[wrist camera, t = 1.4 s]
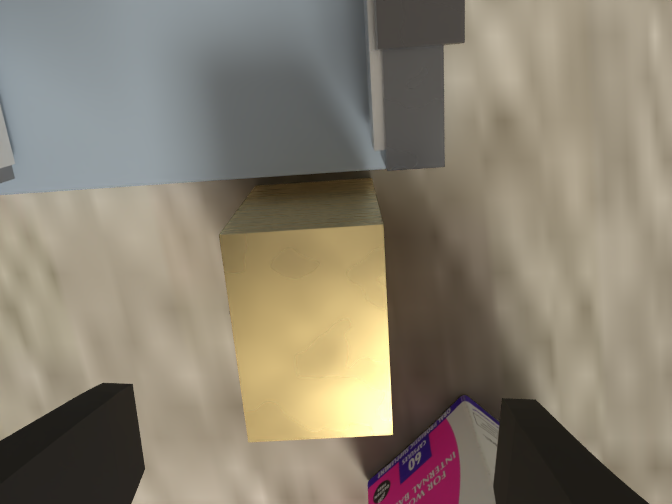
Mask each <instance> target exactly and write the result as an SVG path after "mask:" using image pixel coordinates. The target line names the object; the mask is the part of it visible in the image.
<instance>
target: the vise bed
mask: <svg viewBox="0 0 672 504" xmlns="http://www.w3.org/2000/svg"><path fill="white" fill-rule="evenodd" d="M377 169H386V167H385V164H384V162H383V160H382V157H381V155H380V150H379V151H374V149H373V146H372V143H371V141H370V122H369V102H368V82H367V63H366V43H365V23H364V3H363V0H0V195H8V194H23V193H37V192H52V191H67V190H82V189H96V188H111V187H126V186H141V185H155V184H170V183H185V182H200V181H214V180H229V179H244V178H259V177H273V176H288V175H303V174H318V173H333V172H347V171H362V170H377Z"/></svg>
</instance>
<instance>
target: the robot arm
mask: <svg viewBox="0 0 672 504" xmlns="http://www.w3.org/2000/svg"><path fill="white" fill-rule="evenodd" d="M144 470H145V465H144V459H143V452H142V445H141V438H140V431H139V425H138V418H137V411H136V404H135V397H134V391H133V384H117V383H102V384H100V385H98V386H96V387H94V388H92V389H90V390H88V391H86V392H84V393H82V394H81V395H79V396H77V397H75V398H73V399H72V400H70V401H68V402H66V403H65V404H63V405H61V406H60V407H58V408H56V409H54V410H53V411H51V412H49V413H48V414H46V415H44V416H43V417H41V418H39V419H37V420H36V421H34V422H32V423H30V424H29V425H27V426H25V427H24V428H22V429H20V430H18V431H17V432H15V433H13V434H12V435H10V436H8V437H6V438H5V439H3V440H1V441H0V504H131V503H132V500H133V498H134V496H135V493H136V491H137V488H138V486H139V483H140V480H141V478H142V475H143V473H144ZM493 489H494V495H495V502H496V504H649V503H648V502H646V501H645V500H644V499H643V498H642V497H640V496H639V495H638V494H637V493H635V492H634V491H633V490H632V489H631V488H629V487H628V486H627V485H626V484H625V483H624V482H623V481H621V480H620V479H619V478H618V477H617V476H616V475H614V474H613V473H612V472H611V471H610V470H609V469H608V468H607V467H606V466H604V465H603V464H602V463H601V462H600V461H599V460H598V459H597V458H596V457H595V456H594V455H592V454H591V453H590V452H589V451H588V450H587V449H586V448H585V447H584V446H583V445H582V444H581V443H580V442H579V441H578V440H577V439H576V438H575V437H574V436H573V435H571V434H570V433H569V432H568V431H567V430H566V429H565V428H564V427H563V426H562V425H561V424H560V423H559V422H558V421H557V420H556V419H555V418H554V417H553V416H552V415H551V414H550V413H549V412H548V411H547V410H546V409H545V408H544V407H543V406H542V405H541V404H540V403H538V402H537V401H536V400H530V399H504V398H502V405H501V414H500V424H499V434H498V444H497V453H496V463H495V473H494V483H493Z"/></svg>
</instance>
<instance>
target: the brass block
mask: <svg viewBox="0 0 672 504" xmlns="http://www.w3.org/2000/svg"><path fill="white" fill-rule="evenodd" d="M219 238H220V245H221V252H222V259H223V266H224V273H225V280H226V288H227V295H228V302H229V309H230V316H231V323H232V330H233V337H234V344H235V351H236V358H237V365H238V372H239V379H240V386H241V394H242V401H243V408H244V415H245V422H246V429H247V436H248V442H264V441H283V440H303V439H322V438H341V437H361V436H380V435H393V425H392V403H391V381H390V359H389V337H388V314H387V292H386V270H385V248H384V226H383V221H382V217H381V213H380V209H379V205H378V201H377V197H376V193H375V189H374V185H373V181H372V178H363V179H348V180H333V181H319V182H304V183H289V184H274V185H259V186H255V187H254V189H253V190H252V191H251V193H250V194H249V195H248V197H247V198H246V199H245V201H244V202H243V203H242V205H241V206H240V207H239V209H238V210H237V211H236V213H235V214H234V216H233V217H232V218H231V220H230V221H229V222H228V224H227V225H226V226H225V228H224V229H223V230H222V232H221V233H220V234H219Z"/></svg>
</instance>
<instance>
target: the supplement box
mask: <svg viewBox="0 0 672 504" xmlns="http://www.w3.org/2000/svg"><path fill="white" fill-rule="evenodd" d="M499 424H500V422H499V421H498V420H496V419H495V418H494V417H493V416H492V415H490V414H489V413H488V412H487V411H485V410H484V409H483V408H482V407H481V406H479V405H478V404H477V403H476V402H474V401H473V400H472V399H471V398H470V397H468V396H466V395H462V396H460V397H459V398H458V399H457V401H456V402H455V403H454V404H453V405H451V406H450V408H449V409H448V410H447V411H446V412H445V413H444V414H443V415H442V416H441V417H440V418H439V419H438V420H437V421H436V422H435V423H434V424H433V425H432V426H431V427H430V428H428V429H427V430H426V431H425V432H424V433H423V434H422V435H420V436H419V437H418V438H417V439H416V440H415V441H414V442H413V443H412V444H411V445H409V446H408V447H407V448H406V449H405V450H404V451H403V452H402V453H400V454H399V455H398V456H397V457H396V458H395V459H394V460H393V461H392V462H391V463H389V464H388V465H387V466H386V467H384V468H383V469H381V470H380V471H379V472H378V473H377V474H376V475H375V476H373V477H372V478H371V479H370V480H369V481H368V504H496V502H495V495H494V489H493V483H494V473H495V463H496V453H497V444H498V434H499Z"/></svg>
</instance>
